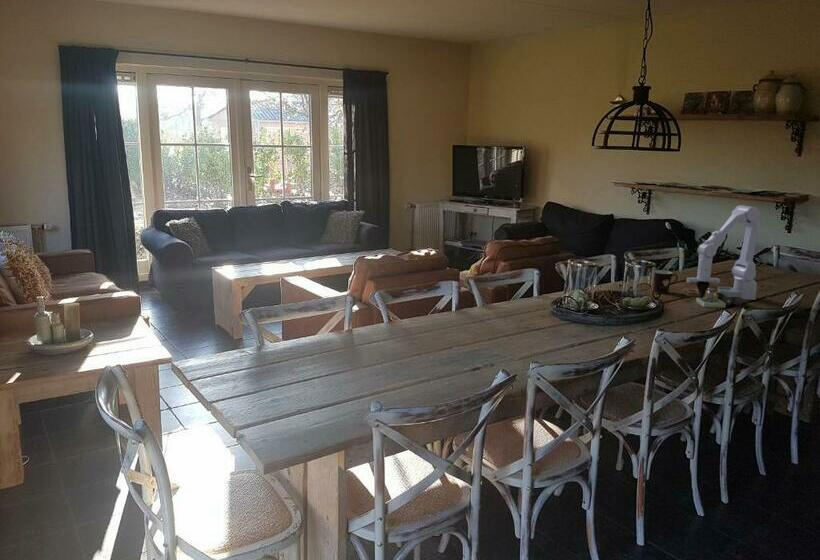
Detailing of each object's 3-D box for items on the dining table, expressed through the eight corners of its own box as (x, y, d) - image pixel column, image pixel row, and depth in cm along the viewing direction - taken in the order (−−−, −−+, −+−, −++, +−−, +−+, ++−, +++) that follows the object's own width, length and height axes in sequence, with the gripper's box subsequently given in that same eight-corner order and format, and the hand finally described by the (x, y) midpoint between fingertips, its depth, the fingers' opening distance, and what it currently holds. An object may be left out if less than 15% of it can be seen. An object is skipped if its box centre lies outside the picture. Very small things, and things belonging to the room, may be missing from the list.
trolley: (731, 299, 310) (733, 286, 309) (743, 306, 299) (745, 292, 297) (712, 299, 311) (714, 286, 309) (723, 305, 299) (725, 292, 298)
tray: (716, 302, 305) (717, 298, 304) (725, 307, 295) (725, 303, 295) (695, 301, 305) (696, 297, 305) (703, 307, 296) (704, 302, 295)
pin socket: (697, 293, 322) (697, 289, 322) (702, 296, 315) (703, 292, 315) (682, 292, 322) (683, 288, 322) (687, 296, 316) (688, 292, 315)
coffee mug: (652, 293, 321) (654, 273, 319) (651, 289, 329) (653, 269, 327) (677, 295, 318) (679, 274, 316) (676, 291, 326) (678, 271, 324)
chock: (712, 299, 311) (713, 290, 310) (717, 301, 306) (718, 293, 305) (702, 298, 311) (703, 290, 310) (706, 301, 306) (707, 293, 305)
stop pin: (711, 302, 302) (713, 287, 300) (714, 304, 299) (715, 289, 297) (704, 302, 302) (706, 287, 301) (707, 304, 299) (709, 289, 298)
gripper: (716, 267, 310) (713, 295, 313) (685, 267, 310) (682, 294, 313) (723, 270, 303) (719, 299, 306) (691, 270, 304) (688, 298, 307)
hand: (701, 297), depth 309 cm, fingers closed
